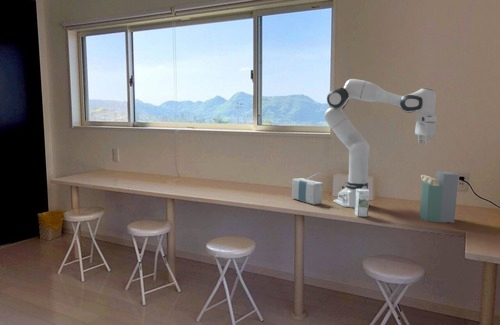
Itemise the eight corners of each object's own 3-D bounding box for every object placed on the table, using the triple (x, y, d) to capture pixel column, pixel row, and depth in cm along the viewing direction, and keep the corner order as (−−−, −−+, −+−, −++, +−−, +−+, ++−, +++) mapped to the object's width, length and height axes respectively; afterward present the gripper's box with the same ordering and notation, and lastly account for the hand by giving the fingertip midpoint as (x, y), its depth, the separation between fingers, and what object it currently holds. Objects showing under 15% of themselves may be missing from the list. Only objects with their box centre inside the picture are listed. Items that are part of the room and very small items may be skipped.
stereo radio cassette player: (291, 199, 255) (292, 167, 253) (301, 197, 260) (302, 167, 257) (313, 205, 238) (314, 172, 235) (323, 204, 242) (324, 171, 240)
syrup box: (364, 214, 219) (366, 188, 218) (368, 217, 214) (369, 190, 212) (354, 214, 219) (355, 188, 217) (357, 217, 213) (359, 190, 212)
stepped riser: (419, 216, 217) (422, 170, 214) (446, 217, 216) (450, 171, 213) (426, 221, 207) (429, 173, 204) (454, 222, 206) (458, 174, 203)
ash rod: (420, 179, 223) (421, 174, 223) (425, 179, 223) (425, 175, 223) (433, 185, 204) (434, 180, 204) (439, 185, 204) (439, 180, 204)
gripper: (413, 118, 231) (411, 142, 233) (426, 118, 211) (424, 144, 212) (424, 118, 230) (422, 142, 232) (438, 118, 210) (436, 145, 212)
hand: (423, 143), depth 222 cm, fingers open, 8 cm apart
